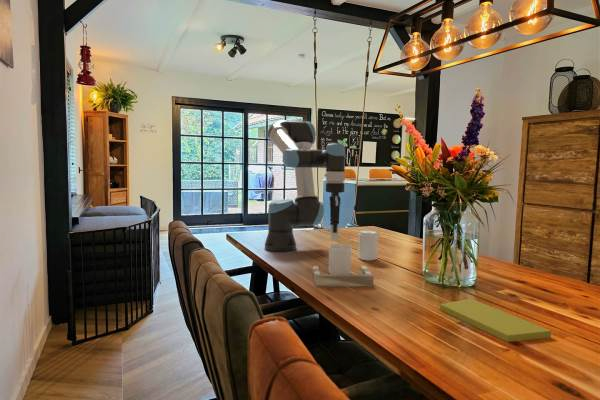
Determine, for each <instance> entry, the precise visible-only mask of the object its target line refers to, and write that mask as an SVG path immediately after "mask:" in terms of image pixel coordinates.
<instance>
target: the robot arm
mask: <svg viewBox="0 0 600 400" xmlns="http://www.w3.org/2000/svg"><path fill="white" fill-rule="evenodd" d="M316 136H317V133H316V127H315V126H314V123H312V122H311V121H307V120H286V119H282V120H278V121H275V122H274V123H273V124H272V125H271V126H269V128H268V131H267V137H268V139H269V141H270V142H271V144H272V145H274V146H276V147H277V148H278V149H279V151H280V153H282V162H283V166H284V167H285V168H293V169H294V172H295V173H294V174H295V182H296V184H295V185H296V193H297V195H296V197H295V198H294V200H293V199H290V198H289V199H288V198H286V199H278V200H273V201H271V202H270V203H269V204H268V211H267V213H268V232H267V236H266V239H265V243H264V249H265V250H266V251H269V252H278V253H279V252H281V253H282V252H291V251H295V250H297V242H296V239H295V236H294V232H293V231H294V229H293V228H294V227H308V226H310V227H312V226H318V225H320V224H321V223H322V221H323V218H324V212H325V211H324V210H325V209H324V208H325V207H324V204H323V202H322V201H320V200H319V196H318V195H316V194H315V183H314V175H313V169H314V168H318V169H319V168H320V169H321V168H322V169H325V173H324V177H325V182H326V183H325V192H326V193H330V196H329V206H330V208H329V209H330V213H329V214H330V215H329V216H330V218H329V219H330V223H329V225H330V241H334V242H335V241H339V224H340V209H341V207H340V206H341V196H340V194H341V193H344V192H345V179H346V175H345V174H346V172H345V169H346V168H345V167H346V165H345V164H346V148H345V147H346V146H345V145H344V144H343V143H328V144H327V145H326V148H325V149H312V147H313V146H314V145H313V144H315V142H316Z"/></svg>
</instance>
